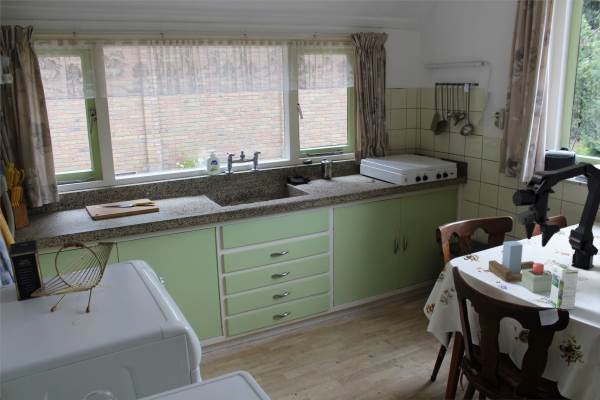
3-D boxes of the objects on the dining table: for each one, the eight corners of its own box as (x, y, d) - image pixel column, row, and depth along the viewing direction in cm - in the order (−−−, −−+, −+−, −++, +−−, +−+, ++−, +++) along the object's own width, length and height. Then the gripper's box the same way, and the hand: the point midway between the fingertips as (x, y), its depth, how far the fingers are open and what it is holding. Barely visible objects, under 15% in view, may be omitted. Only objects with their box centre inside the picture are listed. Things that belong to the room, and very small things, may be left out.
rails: (531, 265, 212) (532, 261, 211) (550, 276, 200) (551, 271, 200) (494, 269, 209) (494, 265, 209) (511, 281, 198) (511, 276, 197)
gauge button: (539, 270, 191) (539, 262, 191) (545, 273, 188) (546, 266, 187) (530, 271, 191) (531, 263, 190) (536, 274, 187) (537, 267, 187)
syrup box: (548, 303, 178) (552, 264, 175) (565, 302, 179) (569, 263, 175) (558, 311, 173) (562, 270, 169) (574, 309, 173) (579, 269, 170)
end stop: (494, 269, 209) (494, 260, 208) (511, 281, 198) (511, 271, 197) (488, 270, 209) (489, 260, 208) (505, 281, 197) (505, 272, 196)
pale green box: (540, 283, 195) (541, 268, 193) (552, 290, 188) (553, 275, 187) (521, 285, 194) (522, 270, 192) (532, 292, 187) (533, 277, 185)
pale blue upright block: (512, 271, 207) (515, 240, 204) (520, 276, 202) (522, 244, 199) (501, 272, 206) (503, 241, 203) (508, 277, 201) (510, 245, 198)
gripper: (507, 200, 206) (504, 237, 210) (535, 212, 188) (531, 252, 192) (532, 198, 208) (528, 235, 212) (563, 210, 190) (558, 250, 194)
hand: (536, 242), depth 202 cm, fingers open, 9 cm apart
